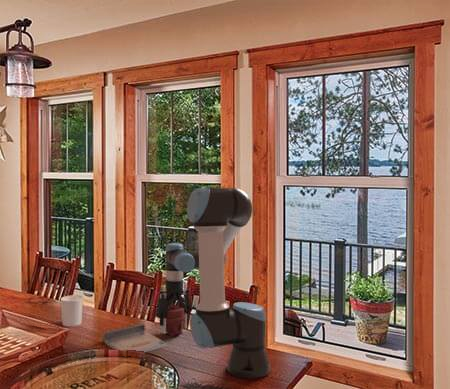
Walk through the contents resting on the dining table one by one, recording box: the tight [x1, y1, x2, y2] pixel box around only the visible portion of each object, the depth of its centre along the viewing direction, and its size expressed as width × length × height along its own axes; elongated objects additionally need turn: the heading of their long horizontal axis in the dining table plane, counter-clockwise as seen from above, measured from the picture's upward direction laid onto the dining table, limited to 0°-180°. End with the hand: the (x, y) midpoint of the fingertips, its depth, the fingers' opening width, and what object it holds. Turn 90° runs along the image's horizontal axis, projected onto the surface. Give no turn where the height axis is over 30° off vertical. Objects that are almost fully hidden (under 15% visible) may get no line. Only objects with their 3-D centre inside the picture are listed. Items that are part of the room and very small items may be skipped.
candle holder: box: [60, 294, 84, 327], centre depth 204 cm, size 10×10×12 cm
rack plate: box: [102, 323, 167, 353], centre depth 180 cm, size 20×18×4 cm
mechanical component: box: [164, 304, 186, 338], centre depth 192 cm, size 12×10×10 cm
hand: (174, 330), depth 192 cm, fingers closed on mechanical component, 10 cm apart
